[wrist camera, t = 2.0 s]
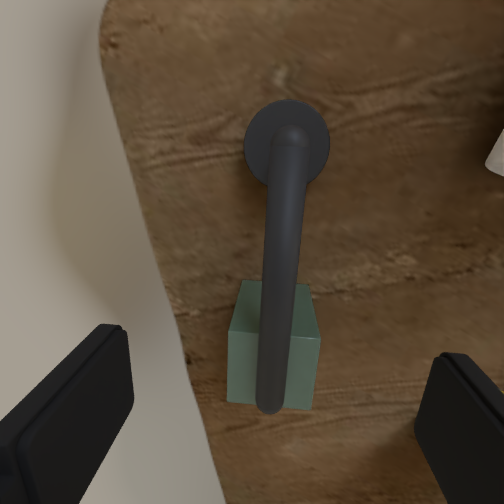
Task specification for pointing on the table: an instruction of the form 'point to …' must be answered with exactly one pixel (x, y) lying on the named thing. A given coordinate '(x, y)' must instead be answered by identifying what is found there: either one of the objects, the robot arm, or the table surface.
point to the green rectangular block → (246, 348)
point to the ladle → (282, 227)
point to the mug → (497, 157)
